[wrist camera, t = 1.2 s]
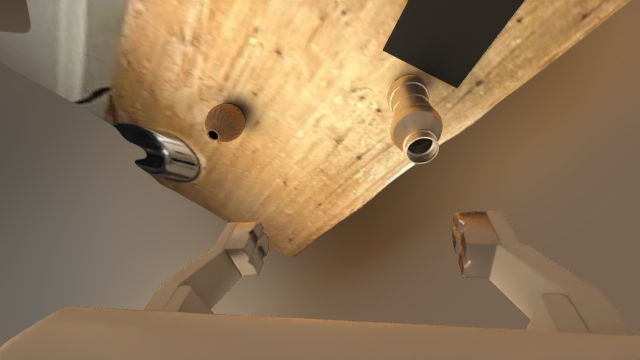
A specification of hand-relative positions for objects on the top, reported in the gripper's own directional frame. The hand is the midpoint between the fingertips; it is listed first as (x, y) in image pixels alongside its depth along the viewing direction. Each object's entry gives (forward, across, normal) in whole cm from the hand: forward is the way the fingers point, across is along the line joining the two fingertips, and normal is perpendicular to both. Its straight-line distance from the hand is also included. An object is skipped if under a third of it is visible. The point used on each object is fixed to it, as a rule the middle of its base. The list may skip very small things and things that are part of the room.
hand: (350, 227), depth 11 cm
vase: (+41, +28, +8) cm, 50 cm away
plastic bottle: (+40, -6, +8) cm, 42 cm away
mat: (+40, -14, -4) cm, 43 cm away
